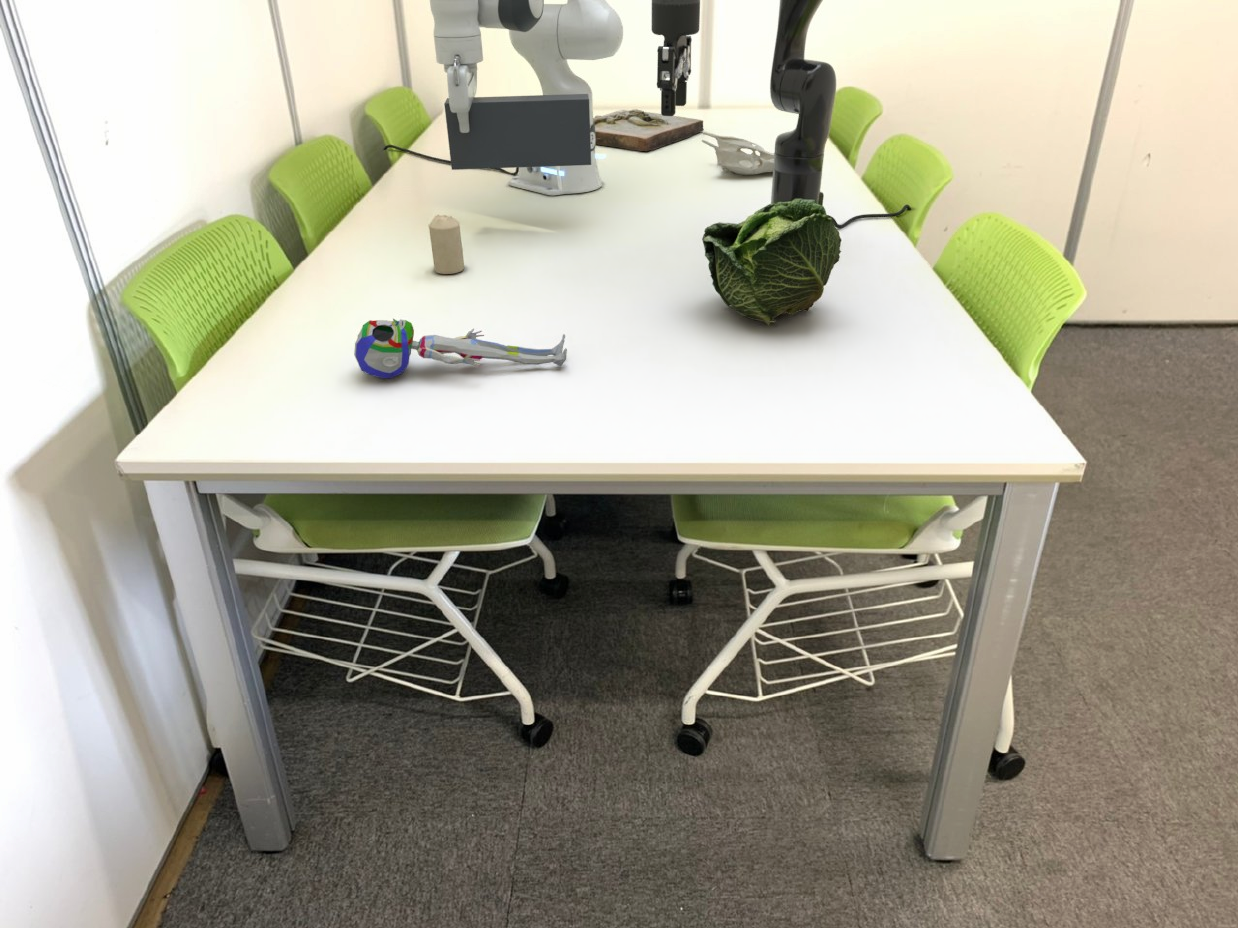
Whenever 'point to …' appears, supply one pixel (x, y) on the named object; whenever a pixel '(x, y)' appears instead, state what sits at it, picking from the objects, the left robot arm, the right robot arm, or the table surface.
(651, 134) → the plaque
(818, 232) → the vegetable
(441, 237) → the candle
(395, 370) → the toy
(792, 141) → the right robot arm
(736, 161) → the anatomical model
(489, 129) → the box
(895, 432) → the table surface
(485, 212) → the table surface
